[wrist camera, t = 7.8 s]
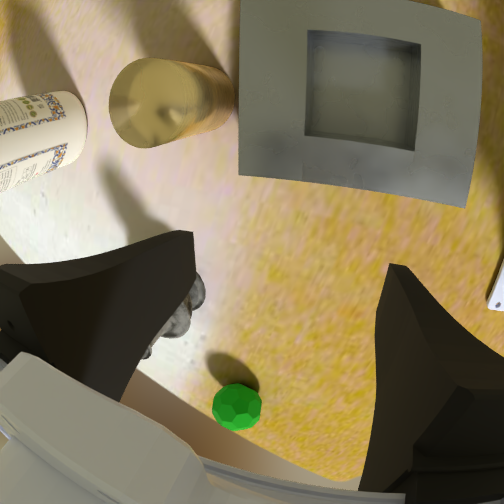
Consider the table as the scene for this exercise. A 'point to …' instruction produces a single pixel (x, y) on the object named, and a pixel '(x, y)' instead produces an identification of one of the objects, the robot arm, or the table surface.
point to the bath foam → (39, 135)
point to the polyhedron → (236, 407)
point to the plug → (168, 101)
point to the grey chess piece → (181, 315)
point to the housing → (360, 95)
